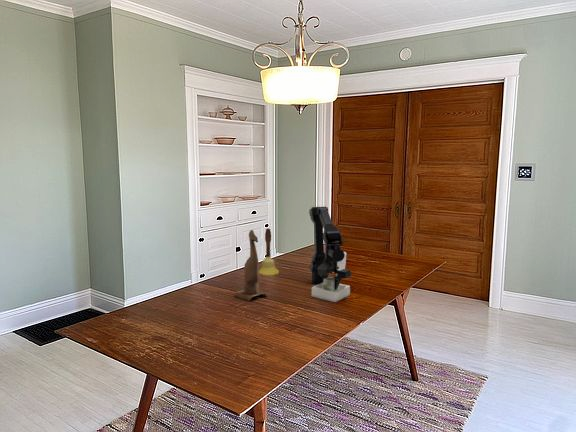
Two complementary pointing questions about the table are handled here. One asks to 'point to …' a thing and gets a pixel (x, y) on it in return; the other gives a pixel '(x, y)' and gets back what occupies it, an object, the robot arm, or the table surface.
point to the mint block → (329, 284)
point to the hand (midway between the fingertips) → (330, 288)
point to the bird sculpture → (251, 273)
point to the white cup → (342, 263)
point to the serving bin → (330, 292)
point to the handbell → (268, 258)
